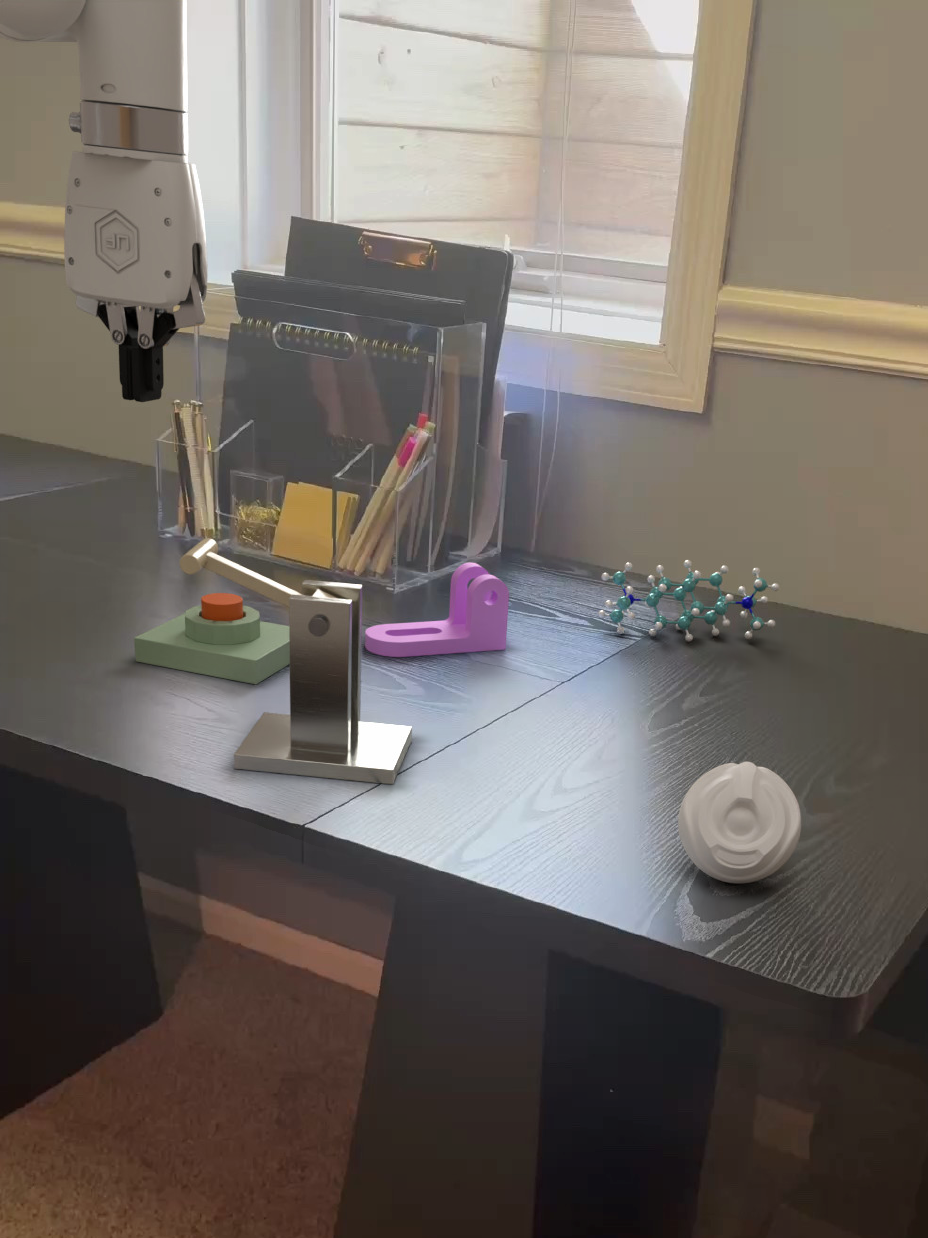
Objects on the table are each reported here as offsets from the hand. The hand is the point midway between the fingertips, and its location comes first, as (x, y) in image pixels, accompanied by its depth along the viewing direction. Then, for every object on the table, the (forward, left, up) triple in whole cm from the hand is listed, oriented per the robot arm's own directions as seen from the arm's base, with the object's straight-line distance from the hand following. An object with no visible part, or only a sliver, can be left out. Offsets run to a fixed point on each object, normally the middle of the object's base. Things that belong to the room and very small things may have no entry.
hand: (142, 398), depth 109 cm
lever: (+16, -11, -11) cm, 23 cm away
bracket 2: (+18, +19, -23) cm, 35 cm away
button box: (+3, +6, -23) cm, 24 cm away
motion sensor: (+54, -16, -23) cm, 61 cm away
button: (+3, +6, -19) cm, 20 cm away
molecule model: (+39, +35, -23) cm, 57 cm away
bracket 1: (+21, -10, -23) cm, 32 cm away
